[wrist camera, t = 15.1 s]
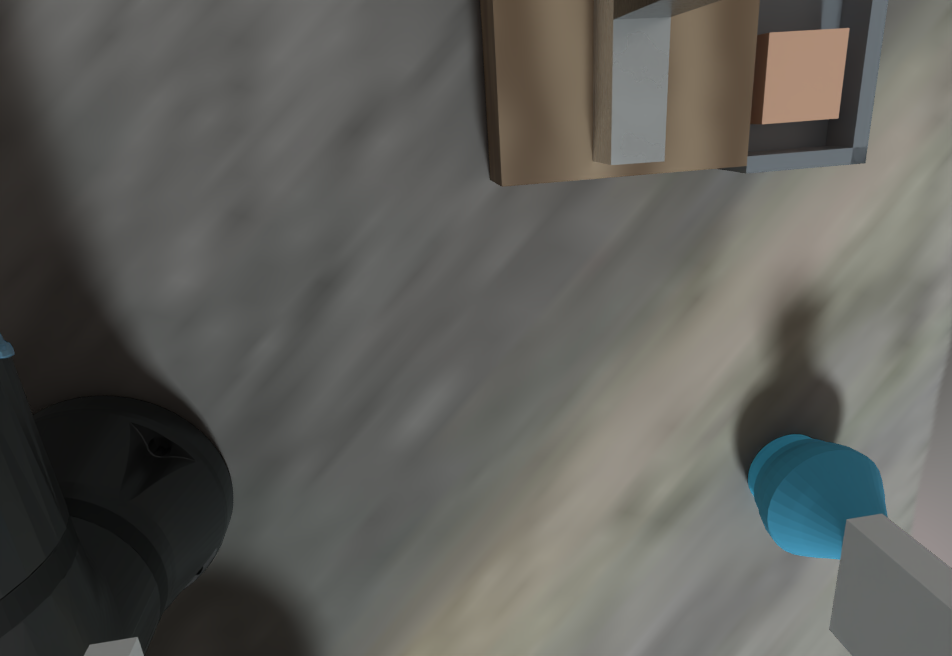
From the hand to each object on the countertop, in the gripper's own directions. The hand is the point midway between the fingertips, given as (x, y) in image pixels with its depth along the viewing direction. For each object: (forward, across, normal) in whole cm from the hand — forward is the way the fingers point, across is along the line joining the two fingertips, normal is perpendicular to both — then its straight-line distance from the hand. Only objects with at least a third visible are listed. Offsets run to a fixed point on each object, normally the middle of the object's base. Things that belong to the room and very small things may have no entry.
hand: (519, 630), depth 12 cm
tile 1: (+30, -24, -10) cm, 39 cm away
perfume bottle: (+31, -28, +20) cm, 46 cm away
